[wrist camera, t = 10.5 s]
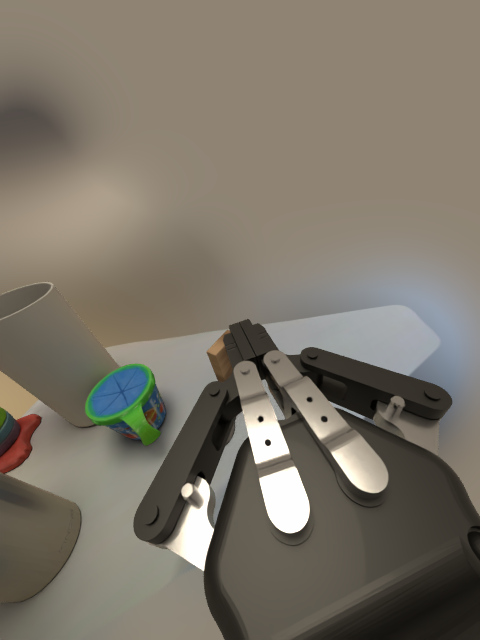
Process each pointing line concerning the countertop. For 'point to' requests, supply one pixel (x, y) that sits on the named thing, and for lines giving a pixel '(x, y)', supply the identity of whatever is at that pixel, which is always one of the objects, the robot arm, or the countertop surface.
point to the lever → (220, 359)
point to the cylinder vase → (51, 350)
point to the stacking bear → (15, 439)
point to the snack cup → (128, 403)
